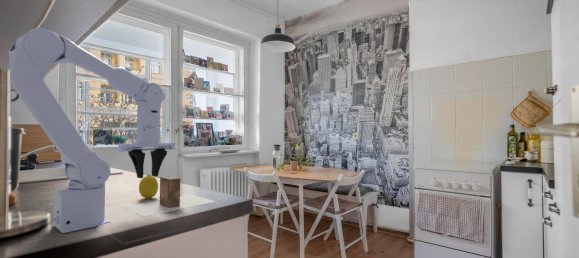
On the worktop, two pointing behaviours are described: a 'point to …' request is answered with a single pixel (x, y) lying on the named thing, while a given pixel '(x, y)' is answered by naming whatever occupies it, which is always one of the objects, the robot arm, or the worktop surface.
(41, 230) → the worktop surface
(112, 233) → the worktop surface
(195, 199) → the mat
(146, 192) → the lemon
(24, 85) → the robot arm
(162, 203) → the brown wooden block
